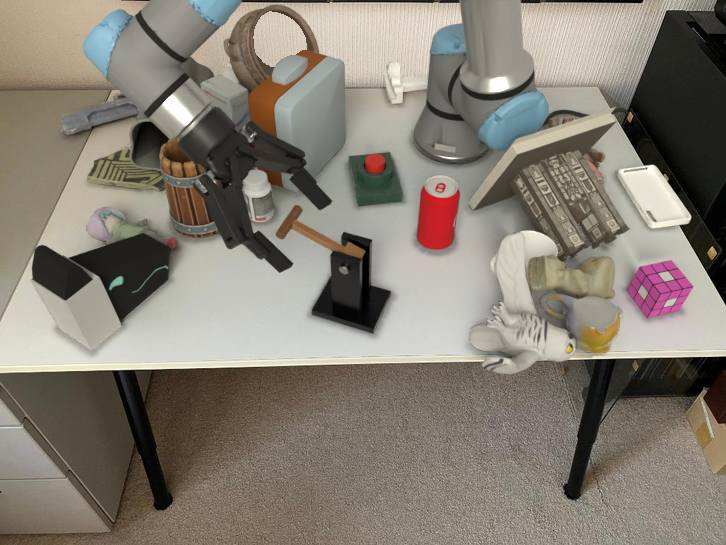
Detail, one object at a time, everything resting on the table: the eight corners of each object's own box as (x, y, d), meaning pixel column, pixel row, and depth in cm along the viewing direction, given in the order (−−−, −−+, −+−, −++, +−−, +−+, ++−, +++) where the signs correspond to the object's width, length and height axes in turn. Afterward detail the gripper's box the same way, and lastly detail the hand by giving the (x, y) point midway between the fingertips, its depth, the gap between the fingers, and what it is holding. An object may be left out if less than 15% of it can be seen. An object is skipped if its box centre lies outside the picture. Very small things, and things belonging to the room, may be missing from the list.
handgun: (45, 89, 130) (60, 128, 121) (151, 64, 137) (173, 98, 129) (50, 104, 132) (66, 142, 124) (155, 78, 140) (176, 112, 131)
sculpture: (621, 255, 94) (552, 252, 87) (622, 303, 94) (552, 304, 86) (590, 257, 99) (521, 254, 92) (591, 302, 99) (522, 303, 92)
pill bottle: (279, 209, 111) (275, 172, 105) (266, 226, 108) (260, 189, 102) (256, 202, 112) (251, 165, 106) (242, 218, 109) (235, 181, 103)
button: (382, 160, 115) (383, 152, 114) (386, 172, 112) (386, 164, 111) (363, 162, 114) (363, 154, 113) (366, 174, 112) (366, 166, 111)
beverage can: (456, 232, 107) (465, 177, 98) (448, 257, 103) (456, 202, 94) (421, 224, 109) (427, 169, 100) (411, 248, 105) (416, 193, 96)
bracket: (311, 315, 95) (306, 257, 85) (332, 278, 100) (329, 220, 90) (373, 334, 93) (375, 276, 83) (391, 295, 98) (394, 237, 88)
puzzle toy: (679, 310, 96) (694, 286, 92) (646, 318, 95) (660, 294, 91) (658, 283, 100) (671, 259, 95) (626, 290, 99) (638, 266, 94)
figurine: (581, 108, 123) (618, 175, 110) (575, 130, 127) (611, 196, 114) (547, 112, 123) (580, 179, 110) (542, 133, 127) (574, 200, 114)
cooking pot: (293, 30, 143) (328, 13, 134) (301, 113, 144) (337, 101, 135) (196, 9, 126) (229, -12, 117) (206, 104, 127) (240, 89, 118)
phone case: (690, 223, 109) (653, 169, 118) (693, 218, 108) (655, 164, 117) (649, 229, 108) (615, 174, 118) (651, 223, 107) (617, 169, 117)
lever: (273, 238, 87) (277, 228, 85) (291, 211, 91) (295, 200, 89) (349, 280, 87) (355, 270, 85) (364, 251, 91) (370, 241, 89)
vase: (227, 61, 131) (204, 134, 109) (208, 108, 138) (183, 186, 116) (169, 34, 127) (133, 105, 105) (153, 85, 134) (116, 161, 112)
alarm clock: (309, 131, 127) (303, 34, 111) (347, 143, 124) (346, 46, 109) (258, 182, 116) (243, 82, 100) (298, 197, 113) (289, 97, 98)
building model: (468, 202, 111) (516, 289, 106) (515, 139, 93) (576, 241, 88) (555, 171, 118) (604, 252, 113) (616, 106, 99) (677, 199, 95)
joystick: (391, 108, 133) (483, 101, 134) (393, 77, 127) (488, 69, 129) (383, 81, 140) (470, 74, 142) (384, 49, 134) (474, 43, 136)
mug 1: (221, 244, 105) (204, 174, 94) (162, 235, 106) (139, 164, 95) (250, 185, 115) (239, 116, 104) (196, 178, 117) (179, 108, 106)
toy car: (212, 102, 134) (205, 73, 129) (239, 75, 142) (233, 46, 137) (237, 106, 133) (230, 77, 128) (262, 78, 140) (257, 50, 135)
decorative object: (181, 273, 100) (159, 203, 89) (92, 351, 90) (55, 282, 79) (145, 253, 103) (120, 183, 92) (55, 326, 93) (14, 257, 82)
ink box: (256, 141, 124) (249, 88, 116) (238, 152, 122) (229, 99, 113) (228, 124, 128) (219, 72, 119) (210, 134, 126) (199, 82, 117)
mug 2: (609, 339, 83) (600, 367, 88) (631, 307, 87) (622, 335, 92) (529, 299, 89) (525, 328, 94) (553, 271, 93) (548, 300, 98)
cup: (555, 292, 98) (565, 262, 93) (494, 300, 97) (501, 271, 92) (537, 257, 103) (546, 227, 98) (479, 264, 102) (485, 234, 97)
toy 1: (150, 251, 96) (68, 216, 98) (147, 280, 99) (67, 245, 101) (189, 225, 105) (113, 193, 108) (185, 251, 108) (111, 220, 110)
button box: (389, 161, 121) (390, 144, 118) (402, 201, 113) (403, 184, 110) (348, 165, 120) (348, 148, 117) (358, 206, 112) (358, 189, 109)
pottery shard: (127, 150, 122) (124, 142, 121) (179, 185, 115) (176, 176, 113) (79, 177, 117) (75, 168, 115) (129, 215, 109) (126, 206, 108)
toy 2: (540, 222, 89) (581, 290, 96) (458, 248, 96) (501, 309, 104) (532, 354, 73) (581, 423, 80) (434, 373, 80) (487, 435, 88)
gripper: (227, 89, 91) (325, 192, 99) (126, 192, 76) (251, 305, 83) (255, 62, 86) (356, 173, 94) (152, 167, 70) (284, 290, 78)
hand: (307, 235), depth 88 cm, fingers open, 13 cm apart
